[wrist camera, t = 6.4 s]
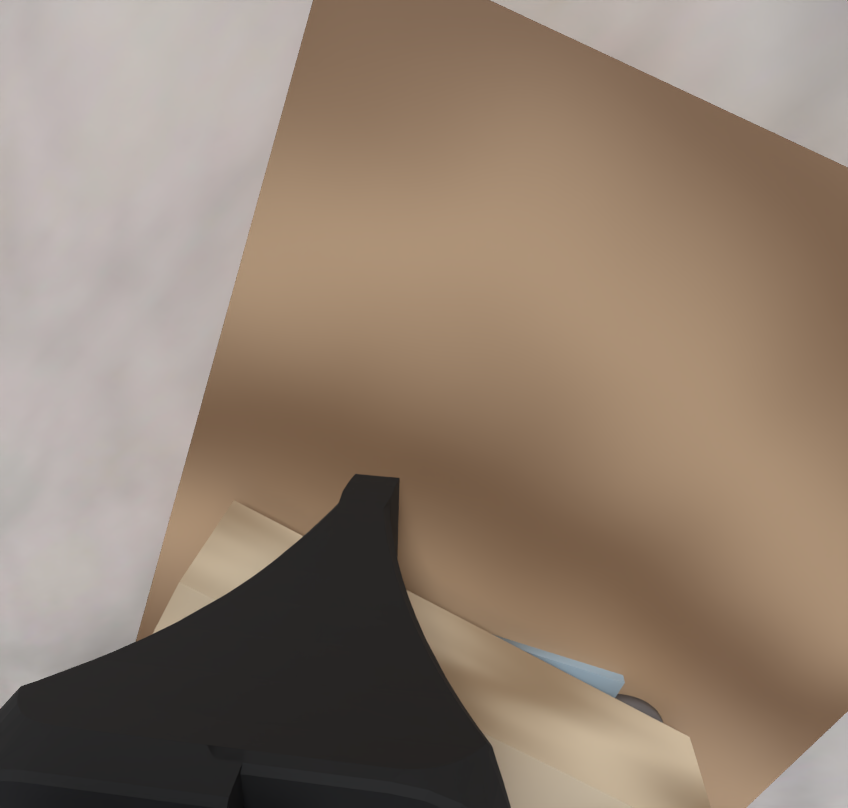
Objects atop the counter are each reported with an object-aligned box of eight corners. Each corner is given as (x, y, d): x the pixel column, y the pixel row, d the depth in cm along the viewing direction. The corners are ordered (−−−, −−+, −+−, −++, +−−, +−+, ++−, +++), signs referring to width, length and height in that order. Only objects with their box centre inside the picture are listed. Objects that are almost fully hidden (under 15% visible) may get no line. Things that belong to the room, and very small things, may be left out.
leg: (689, 737, 14) (735, 888, 11) (620, 793, 15) (648, 946, 12) (234, 499, 13) (162, 607, 10) (191, 580, 14) (116, 698, 11)
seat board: (645, 847, 18) (657, 906, 17) (144, 660, 17) (113, 708, 16) (1160, 323, 11) (1252, 353, 10) (351, -53, 10) (328, -79, 9)
